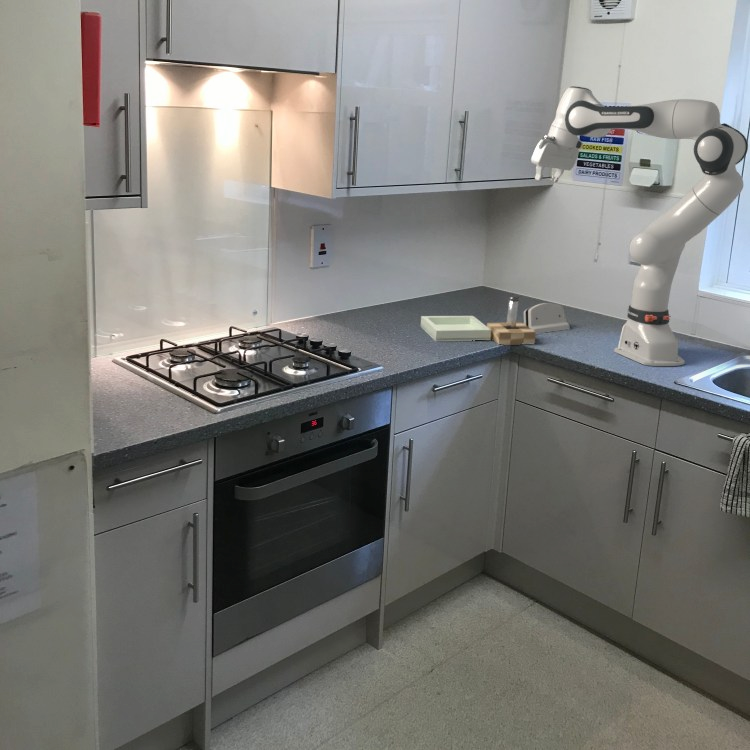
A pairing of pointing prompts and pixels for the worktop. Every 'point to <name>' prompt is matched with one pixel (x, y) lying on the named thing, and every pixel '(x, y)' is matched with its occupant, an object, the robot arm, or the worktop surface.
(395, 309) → the worktop surface
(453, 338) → the sage tray
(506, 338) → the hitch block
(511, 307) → the steel pin
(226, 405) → the worktop surface
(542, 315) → the grey slotted holder
